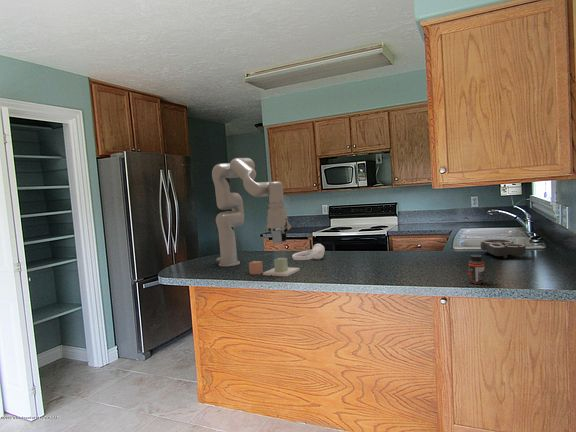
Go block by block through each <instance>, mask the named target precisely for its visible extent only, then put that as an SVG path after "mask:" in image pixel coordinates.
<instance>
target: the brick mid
mask: <svg viewBox="0 0 576 432" xmlns="http://www.w3.org/2000/svg"><path fill="white" fill-rule="evenodd" d="M272 238H273V240H272V243H273V244H283V243H285V242H287V240H286V241H282V230H281V229H276V230H275V231H272V234H271V239H272Z"/></svg>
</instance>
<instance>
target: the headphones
mask: <svg viewBox="0 0 576 432" xmlns="http://www.w3.org/2000/svg"><path fill="white" fill-rule="evenodd" d="M325 249H326V248H325V246H324V245H322V244H321V243H316V244H314V245H313V246H312V249H308V250H303V251H299V252H295V253H293V254H292V257H291V258H292V260H293V261H306V260H307V261H309V260H311V259H314V260H321V259H322V258H324V254H325V251H326V250H325Z"/></svg>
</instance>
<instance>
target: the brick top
mask: <svg viewBox="0 0 576 432" xmlns="http://www.w3.org/2000/svg"><path fill="white" fill-rule="evenodd" d="M248 268H249V275H257V274H258V275H260V274H263V272H264V269H263V268H264V267H263V261H262V260H261V261H260V260H253V261H250V262H248Z"/></svg>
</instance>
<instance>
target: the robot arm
mask: <svg viewBox="0 0 576 432" xmlns="http://www.w3.org/2000/svg"><path fill="white" fill-rule="evenodd" d="M255 167H256V165H255V161H253V159H251V158H250V157H235V158H233V159H232V160H231V161H230V162H229V163H228V162H224V163H217V164H215V165H214V166H213V168H212V171H211V177H212V178H211V179H212V182H213V184H214V189H215V199H216V201H215V202H216V207H217V208H218V209H219V210H229V211H223V212H219V213H218V214H216V217H215V224H216V227H217V231H218V240H219V241H218V242H219V253H220V254H219V255H220V257H219V256H218V257H217V258H216V261H217V262H219V263H218V266H219V267H223V268H225V267H235V266H238V265H240V264H241V262H240V260H238V252H237V241H236V234H235V231H234V230H233V228H235V227H241V226H243V224H244V223H245V211H244V202H243V198H242V196H241V195H240V193H238V192H231V190H230V189H231V188H230V184H229V182H228V180H227V179H234V178H235V179H236V178H237V179H238V178H240V179H241V180H242V184H243V187H244V189H245V191H246V192H247V193H248V194H249V195H251V196H252V197H255V198H263V197H268V203H267V207H269V208H268V209H267V224H266V225H265V228H266V229H267V230H268V231H269V233H270V234H271V235H272V231H275V230H277V229H280V230H282V241H286V242H287V233H288V232H289V230H290V229H291V228H292V225H291V224H290V223H289V220H288V213H287V209H286V207H285V201H284V187H283V182H282V181H263V182H262V181H260V182H258V181H257V182H256V181H255V179H256V176H257V171H256V170H255ZM271 239H272V241H273V238H272V237H271Z"/></svg>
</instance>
